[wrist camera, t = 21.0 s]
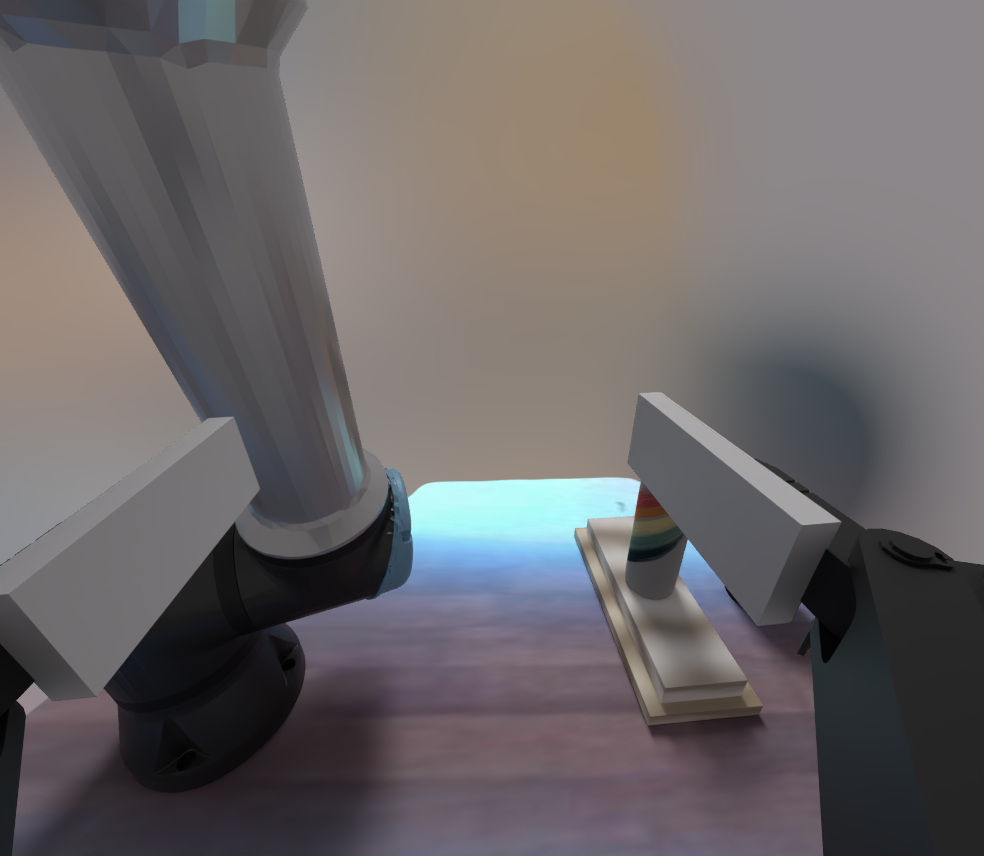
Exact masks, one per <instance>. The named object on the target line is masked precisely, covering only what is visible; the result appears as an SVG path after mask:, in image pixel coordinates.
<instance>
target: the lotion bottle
mask: <svg viewBox="0 0 984 856" xmlns="http://www.w3.org/2000/svg"><path fill="white" fill-rule="evenodd" d="M687 540H688V538H687V537H686V536H685V535H684V533H683V532H682V531H681V530H680V528H679V527H678V526H677V525H676V523H675V522H674V521H673V519H672V518H671V517H670V516H669V514H668V513H667V512H666V511H665V509H664V508H663V507H662V506H661V504H660V503H659V502H658V501H657V499H656V498H655V497H654V496H653V494H652V493H651V492H650V491H649V489H648V488H647V487H646V485H645V484H644V483H643V482H642V480H641V484H640V489H639V495H638V500H637V506H636V511H635V517H634V523H633V528H632V534H631V540H630V545H629V551H628V557H627V562H626V569H625V578H626V581H627V583H628V585H629V586H630V588H631V589H632V590H633V591H635V592H636V593H637V594H639V595H641V596H643V597H645V598H648V599H653V600H661V599H665V598H667V597H669V596H670V595H671V594H672V592H673V590H674V588H675V585H676V581H677V578H678V574H679V570H680V566H681V563H682V559H683V555H684V551H685V547H686V544H687Z"/></svg>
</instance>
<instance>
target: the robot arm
mask: <svg viewBox="0 0 984 856" xmlns="http://www.w3.org/2000/svg"><path fill="white" fill-rule="evenodd" d="M307 9H308V6H307V0H0V84H1V86H2V87H3V89H4V91H5V92H6V94H7V96H8V98H9V99H10V101H11V102H12V104H13V106H14V107H15V109H16V111H17V112H18V114H19V116H20V118H21V119H22V121H23V123H24V124H25V126H26V128H27V130H28V131H29V133H30V135H31V136H32V138H33V140H34V141H35V143H36V145H37V146H38V148H39V150H40V151H41V153H42V155H43V156H44V158H45V159H46V161H47V163H48V165H49V166H50V168H51V170H52V171H53V173H54V175H55V177H56V178H57V180H58V181H59V183H60V185H61V187H62V188H63V190H64V192H65V193H66V195H67V197H68V199H69V200H70V202H71V203H72V205H73V207H74V209H75V210H76V212H77V214H78V215H79V217H80V218H81V220H82V222H83V224H84V225H85V227H86V229H87V230H88V232H89V234H90V235H91V237H92V239H93V241H94V242H95V244H96V246H97V247H98V249H99V250H100V252H101V254H102V256H103V257H104V259H105V261H106V262H107V264H108V266H109V268H110V269H111V271H112V273H113V274H114V276H115V277H116V279H117V281H118V283H119V284H120V286H121V288H122V289H123V291H124V293H125V294H126V296H127V298H128V299H129V301H130V303H131V304H132V306H133V308H134V310H135V311H136V313H137V315H138V316H139V318H140V320H141V321H142V323H143V325H144V326H145V328H146V329H147V331H148V333H149V335H150V336H151V338H152V340H153V342H154V343H155V345H156V347H157V348H158V350H159V352H160V353H161V355H162V357H163V358H164V360H165V362H166V363H167V365H168V367H169V368H170V370H171V372H172V374H173V375H174V377H175V379H176V380H177V382H178V384H179V385H180V387H181V389H182V390H183V392H184V394H185V395H186V397H187V399H188V400H189V402H190V404H191V406H192V407H193V409H194V411H195V412H196V414H197V416H198V417H199V419H200V421H201V422H202V423H201V424H199V425H198V426H197V427H195V428H194V429H193V430H191V431H190V432H188V433H187V434H185V435H184V436H182V437H181V438H180V439H178V440H177V441H175V442H174V443H173V444H172V445H170V446H168V447H167V448H166V449H164V450H163V451H161V452H160V453H159V454H157V455H156V456H154V457H153V458H151V459H150V460H149V461H147V462H146V463H145V464H143V465H142V466H140V467H139V468H137V469H136V470H135V471H133V472H132V473H130V474H129V475H128V476H126V477H125V478H123V479H122V480H121V481H119V482H118V483H116V484H115V485H114V486H112V487H111V488H109V489H108V490H106V491H105V492H104V493H102V494H101V495H99V496H98V497H97V498H95V499H94V500H92V501H91V502H90V503H88V504H87V505H85V506H84V507H83V508H81V509H80V510H78V511H77V512H75V513H74V514H73V515H71V516H70V517H68V518H67V519H66V520H64V521H63V522H61V523H59V524H58V525H56V526H55V527H54V528H52V529H51V530H49V531H48V532H46V533H45V534H44V535H42V536H41V537H40V538H38V539H37V540H36V541H35V542H33V543H32V544H30V545H28V546H27V547H25V548H24V549H22V550H21V551H20V552H18V553H17V554H15V556H14V557H12V558H11V559H8V560H7V561H6V562H4V563H3V564H1V565H0V856H12V847H13V838H14V828H15V818H16V808H17V798H18V788H19V778H20V768H21V759H22V749H23V739H24V729H25V719H26V714H25V711H24V708H23V707H22V706H21V705H20V704H19V703H18V702H17V701H16V700H17V699H18V698H19V697H20V696H21V695H22V694H23V693H24V692H25V691H26V690H27V689H28V688H29V687H30V686H31V685H32V684H33V682H34V683H35V684H36V685H37V686H38V687H39V688H40V689H41V690H42V691H43V692H44V693H45V694H46V695H47V696H48V697H49V698H50V699H51V700H52V701H60V700H70V699H79V698H88V697H97V695H98V694H99V693H100V692H101V690H102V689H103V688H104V689H105V690H106V692H107V693H108V694H109V695H110V696H111V697H112V698H113V700H114V701H115V702H116V703H117V705H118V720H119V739H120V752H121V756H122V759H123V761H124V764H125V766H126V767H127V769H128V770H129V771H130V772H131V773H132V774H133V776H134V777H135V778H136V779H137V780H138V781H139V782H140V783H141V784H142V785H144V786H145V787H147V788H149V789H152V790H155V791H160V792H178V791H184V790H189V789H192V788H196V787H199V786H201V785H204V784H206V783H209V782H211V781H213V780H215V779H217V778H219V777H221V776H223V775H224V774H226V773H228V772H229V771H231V770H233V769H234V768H236V767H237V766H238V765H240V764H241V763H243V762H244V761H245V760H246V759H248V758H249V757H250V756H251V755H252V754H254V753H255V752H256V751H257V750H258V749H259V748H260V747H261V746H262V745H263V744H264V743H265V742H266V741H267V740H268V739H269V738H270V737H271V736H272V735H273V734H274V732H275V731H276V730H277V729H278V728H279V726H280V725H281V724H282V722H283V721H284V720H285V718H286V717H287V715H288V714H289V712H290V710H291V709H292V707H293V705H294V703H295V701H296V699H297V697H298V695H299V692H300V690H301V687H302V683H303V680H304V675H305V656H304V652H303V650H302V647H301V644H300V642H299V639H298V637H297V635H296V634H295V632H294V631H293V630H292V629H291V628H290V627H289V626H288V625H287V624H285V623H286V622H289V621H293V620H296V619H300V618H303V617H306V616H310V615H313V614H316V613H320V612H323V611H326V610H330V609H333V608H336V607H340V606H343V605H346V604H350V603H353V602H356V601H360V600H363V599H367V600H370V599H375V598H377V597H378V596H379V595H380V594H382V593H385V592H388V591H390V590H393V589H396V588H398V587H400V586H402V585H403V584H404V583H405V582H406V581H407V579H408V578H409V576H410V573H411V569H412V561H413V542H412V536H411V533H410V532H411V517H410V509H409V503H408V498H407V493H406V489H405V485H404V482H403V479H402V476H401V474H400V473H399V472H398V471H397V470H395V469H387V468H384V467H383V465H382V464H381V462H380V461H379V460H378V459H377V458H376V457H375V456H374V455H373V454H372V453H370V452H369V451H367V450H365V449H363V448H362V445H361V440H360V436H359V431H358V427H357V422H356V418H355V414H354V410H353V405H352V400H351V396H350V391H349V387H348V382H347V378H346V373H345V369H344V364H343V360H342V355H341V351H340V346H339V343H338V337H337V333H336V328H335V324H334V319H333V315H332V311H331V307H330V301H329V297H328V292H327V288H326V284H325V279H324V274H323V270H322V265H321V261H320V256H319V252H318V248H317V243H316V239H315V234H314V230H313V225H312V221H311V217H310V212H309V208H308V203H307V198H306V194H305V190H304V185H303V180H302V176H301V171H300V167H299V162H298V158H297V153H296V149H295V144H294V140H293V136H292V131H291V127H290V122H289V117H288V113H287V108H286V104H285V99H284V95H283V91H282V86H281V82H280V77H279V65H280V64H279V63H280V61H279V60H280V56H281V54H282V52H283V50H284V49H285V47H286V45H287V43H288V42H289V40H290V38H291V36H292V35H293V33H294V31H295V30H296V28H297V26H298V24H299V23H300V21H301V19H302V17H303V16H304V14H305V12H306V10H307ZM628 464H629V465H630V467H631V468H632V469H633V470H634V472H635V473H636V474H637V475H638V477H639V478H640V479H641V480H642V482H643V483H644V484H645V485H646V487H647V488H648V489H649V491H650V492H651V493H652V494H653V496H654V497H655V498H656V499H657V501H658V502H659V503H660V504H661V506H662V507H663V508H664V509H665V511H666V512H667V513H668V514H669V516H670V517H671V518H672V519H673V521H674V522H675V523H676V525H677V526H678V527H679V528H680V530H681V531H682V532H683V533H684V535H685V536H686V537H687V538H688V540H689V541H690V542H691V543H692V545H693V546H694V547H695V548H696V550H697V551H698V552H699V553H700V555H701V556H702V557H703V558H704V560H705V561H706V562H707V564H708V565H709V566H710V567H711V569H712V570H713V571H714V572H715V574H716V575H717V576H718V577H719V579H720V580H721V581H722V582H723V584H724V585H725V586H726V587H727V589H728V590H729V591H730V592H731V594H732V595H733V596H734V598H735V599H736V600H737V601H738V603H739V604H740V605H741V606H742V608H743V609H744V610H745V611H746V613H747V614H748V615H749V616H750V618H751V619H752V620H753V621H754V623H755V624H756V625H757V626H765V625H774V624H784V623H791V622H792V620H793V618H794V616H795V614H796V612H797V610H798V608H799V606H800V604H801V602H802V603H803V604H804V605H805V606H806V607H807V608H808V609H809V611H810V612H811V613H812V614H813V615H814V616H815V618H814V620H813V622H812V624H811V625H810V627H809V629H808V631H807V633H806V635H805V637H804V638H803V640H802V642H801V644H800V646H799V649H798V652H797V654H800V655H802V656H804V655H805V653H806V651H807V649H808V648H811V658H812V675H813V692H814V708H815V725H816V741H817V758H818V774H819V791H820V807H821V824H822V841H823V856H984V565H980V564H973V563H966V562H959V561H954V560H953V559H952V558H951V557H949V556H948V555H946V554H945V553H944V552H942V551H941V550H939V549H938V548H936V547H934V546H932V545H930V544H928V543H926V542H924V541H922V540H920V539H918V538H915V537H912V536H909V535H906V534H903V533H901V532H896V531H891V530H886V529H867V530H865V529H864V528H863V527H861V526H860V525H859V524H857V523H856V522H854V521H853V520H851V519H850V518H849V517H847V516H846V515H844V514H843V513H841V512H840V511H838V510H837V509H836V508H834V507H833V506H831V505H830V504H828V503H827V502H825V501H824V500H823V499H821V498H820V497H818V496H817V495H815V494H814V493H809V490H808V489H807V488H805V487H804V486H802V485H801V484H799V483H795V481H794V479H792V478H791V477H789V476H788V475H786V474H785V473H784V472H782V471H781V470H779V469H778V468H776V467H773V466H771V465H769V464H767V463H764V462H762V461H760V460H758V459H755V458H754V459H753V458H752V457H750V456H749V455H748V454H746V453H745V452H743V451H742V450H740V449H739V448H738V447H736V446H735V445H734V444H732V443H731V442H729V441H728V440H727V439H725V438H724V437H722V436H721V435H720V434H718V433H717V432H715V431H714V430H713V429H711V428H710V427H708V426H707V425H706V424H704V423H703V422H701V421H700V420H699V419H697V418H696V417H694V416H693V415H692V414H690V413H689V412H688V411H686V410H685V409H683V408H682V407H681V406H679V405H678V404H676V403H675V402H674V401H672V400H671V399H669V398H668V397H667V396H665V395H664V394H662V393H661V392H654V393H639V395H638V401H637V407H636V413H635V420H634V426H633V432H632V438H631V445H630V451H629V457H628Z"/></svg>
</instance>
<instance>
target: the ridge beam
mask: <svg viewBox="0 0 984 856" xmlns="http://www.w3.org/2000/svg"><path fill="white" fill-rule="evenodd" d="M634 517H635V516H627V517H613V518H598V519H588V522H587V528H575V534H574V536H575V539H576V541H577V544H578V546H579V549H580V552H581V554H582V557H583V559H584V562H585V565H586V567H587V570H588V572H589V575H590V578H591V580H592V583H593V585H594V588H595V590H596V593H597V596H598V598H599V601H600V603H601V606H602V609H603V611H604V614H605V616H606V619H607V621H608V624H609V627H610V629H611V632H612V634H613V637H614V640H615V642H616V645H617V647H618V650H619V653H620V655H621V658H622V660H623V663H624V665H625V668H626V671H627V673H628V676H629V678H630V681H631V684H632V686H633V689H634V691H635V694H636V697H637V699H638V702H639V704H640V707H641V709H642V712H643V715H644V717H645V720H646V722H647V725H658V724H668V723H678V722H689V721H699V720H709V719H719V718H729V717H739V716H749V715H759V713H760V711H761V709H762V707H763V705H762V703H761V702H760V700H759V699H758V697H757V696H756V694H755V693H754V691H753V689H752V688H751V686H750V685H749V683H748V682H747V681H748V680H747V678H746V677H745V675H744V674H743V672H742V671H741V669H740V667H739V666H738V664H737V663H736V661H735V660H734V658H733V657H732V655H731V654H730V652H729V651H728V649H727V648H726V646H725V645H724V643H723V642H722V640H721V639H720V637H719V636H718V634H717V633H716V631H715V629H714V628H713V626H712V625H711V623H710V622H709V620H708V619H707V617H706V616H705V614H704V613H703V611H702V610H701V608H700V607H699V605H698V604H697V602H696V601H695V599H694V598H693V596H692V595H691V593H690V591H689V590H688V588H687V587H686V585H685V584H684V582H683V581H682V579H681V578H680V576H679V575H678V578H677V581H676V585H675V588H674V590H673V592H672V594H671V595H670V596H669V597H667V598H665V599H661V600H653V599H648V598H645V597H643V596H641V595H639V594H637V593H636V592H635V591H633V590H632V589H631V588H630V586H629V585H628V583H627V581H626V578H625V569H626V562H627V557H628V551H629V545H630V540H631V534H632V528H633V523H634Z"/></svg>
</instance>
